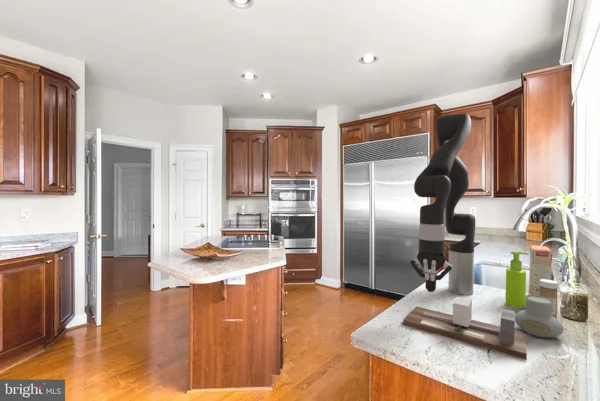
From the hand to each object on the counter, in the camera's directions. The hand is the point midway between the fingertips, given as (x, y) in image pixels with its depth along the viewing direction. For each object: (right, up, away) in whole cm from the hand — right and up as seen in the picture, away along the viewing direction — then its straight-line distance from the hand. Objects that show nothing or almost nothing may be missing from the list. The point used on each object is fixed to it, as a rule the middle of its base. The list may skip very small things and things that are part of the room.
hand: (430, 291), depth 90 cm
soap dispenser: (+39, -10, +15) cm, 43 cm away
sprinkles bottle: (+38, -10, +1) cm, 40 cm away
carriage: (+6, -7, -7) cm, 12 cm away
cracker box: (+52, -10, +20) cm, 57 cm away
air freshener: (+28, -10, -7) cm, 31 cm away
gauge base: (+6, -10, -6) cm, 13 cm away
